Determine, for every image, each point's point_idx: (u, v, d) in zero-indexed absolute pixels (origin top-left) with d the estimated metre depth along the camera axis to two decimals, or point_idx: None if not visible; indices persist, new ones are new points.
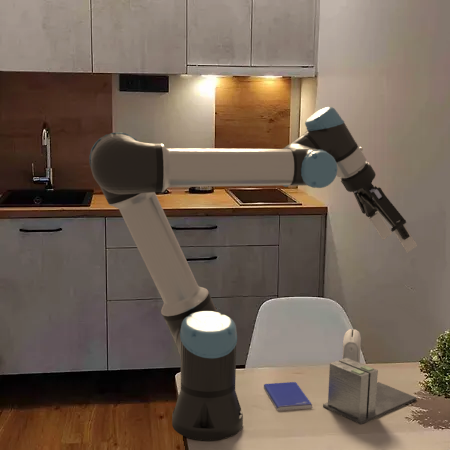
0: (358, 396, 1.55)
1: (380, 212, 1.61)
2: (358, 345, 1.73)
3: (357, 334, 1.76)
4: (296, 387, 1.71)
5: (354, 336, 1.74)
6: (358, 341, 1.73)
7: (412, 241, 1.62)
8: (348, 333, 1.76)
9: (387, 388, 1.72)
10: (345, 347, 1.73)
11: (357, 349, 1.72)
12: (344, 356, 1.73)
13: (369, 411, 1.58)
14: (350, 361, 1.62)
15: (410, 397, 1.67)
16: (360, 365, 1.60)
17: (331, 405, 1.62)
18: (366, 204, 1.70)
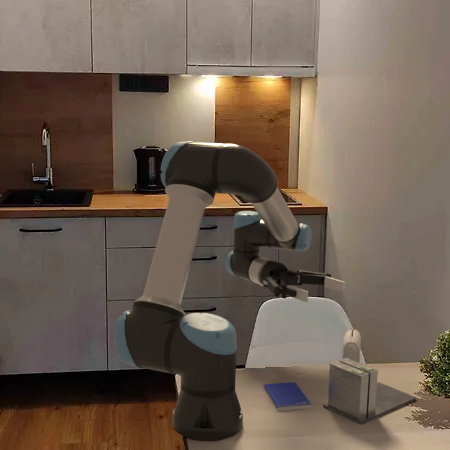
0: (358, 396, 1.55)
1: (308, 274, 1.93)
2: (358, 345, 1.73)
3: (357, 334, 1.76)
4: (296, 387, 1.71)
5: (354, 336, 1.74)
6: (358, 341, 1.73)
7: None
8: (348, 333, 1.76)
9: (387, 388, 1.72)
10: (345, 347, 1.73)
11: (357, 349, 1.72)
12: (344, 356, 1.73)
13: (369, 411, 1.58)
14: (350, 361, 1.62)
15: (410, 397, 1.67)
16: (360, 365, 1.60)
17: (331, 405, 1.62)
18: (285, 280, 1.88)
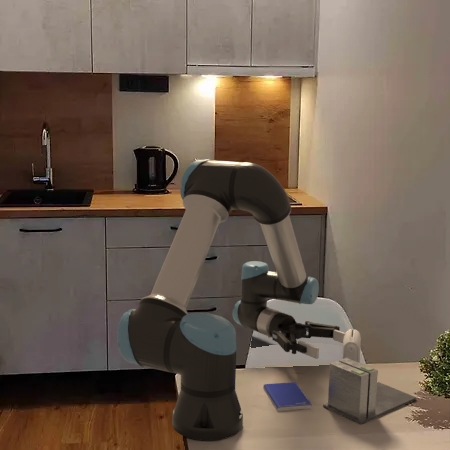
0: (358, 396, 1.55)
1: (317, 327, 1.93)
2: (358, 345, 1.73)
3: (357, 334, 1.76)
4: (296, 387, 1.71)
5: (354, 336, 1.74)
6: (358, 341, 1.73)
7: None
8: (348, 333, 1.76)
9: (387, 388, 1.72)
10: (345, 347, 1.73)
11: (357, 349, 1.72)
12: (344, 356, 1.73)
13: (369, 411, 1.58)
14: (350, 361, 1.62)
15: (410, 397, 1.67)
16: (360, 365, 1.60)
17: (331, 405, 1.62)
18: (294, 334, 1.88)
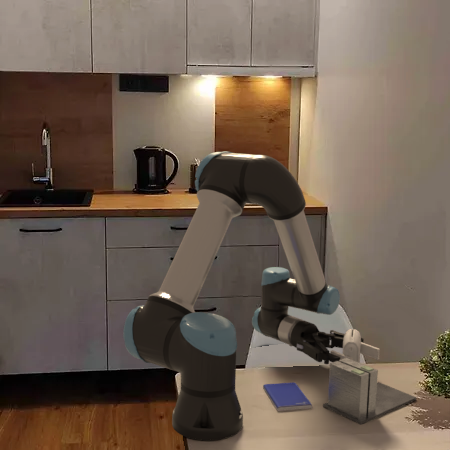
0: (358, 396, 1.55)
1: (341, 337, 1.85)
2: (358, 345, 1.73)
3: (357, 334, 1.76)
4: (296, 387, 1.71)
5: (354, 336, 1.74)
6: (358, 341, 1.73)
7: None
8: (348, 333, 1.76)
9: (387, 388, 1.72)
10: (345, 347, 1.73)
11: (357, 349, 1.72)
12: None
13: (369, 411, 1.58)
14: (350, 361, 1.62)
15: (410, 397, 1.67)
16: (360, 365, 1.60)
17: (331, 405, 1.62)
18: None
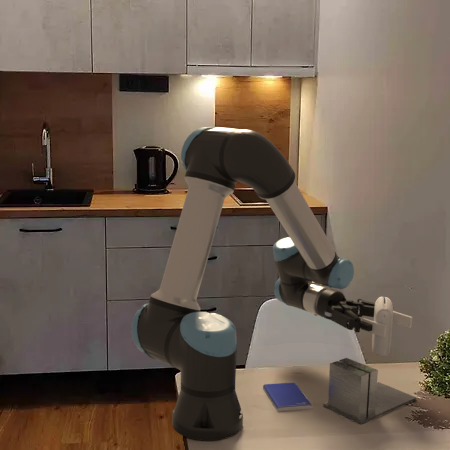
0: (358, 396, 1.55)
1: (370, 306, 1.78)
2: (391, 312, 1.65)
3: (389, 301, 1.69)
4: (295, 387, 1.71)
5: (387, 303, 1.67)
6: (391, 308, 1.66)
7: None
8: (380, 300, 1.69)
9: (387, 388, 1.72)
10: (378, 314, 1.65)
11: (390, 316, 1.65)
12: None
13: (369, 411, 1.58)
14: (350, 361, 1.62)
15: (410, 397, 1.67)
16: (360, 365, 1.60)
17: (331, 405, 1.62)
18: None
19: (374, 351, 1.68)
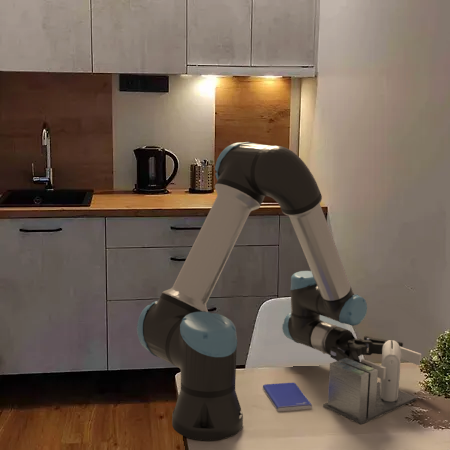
0: (358, 396, 1.55)
1: (378, 343, 1.77)
2: (399, 358, 1.63)
3: (397, 346, 1.67)
4: (295, 387, 1.71)
5: (394, 348, 1.65)
6: (399, 353, 1.64)
7: None
8: (387, 345, 1.67)
9: None
10: (385, 360, 1.64)
11: (398, 362, 1.63)
12: None
13: (369, 411, 1.58)
14: (350, 361, 1.62)
15: (410, 397, 1.67)
16: (360, 365, 1.60)
17: (331, 405, 1.62)
18: (355, 351, 1.72)
19: (382, 397, 1.66)
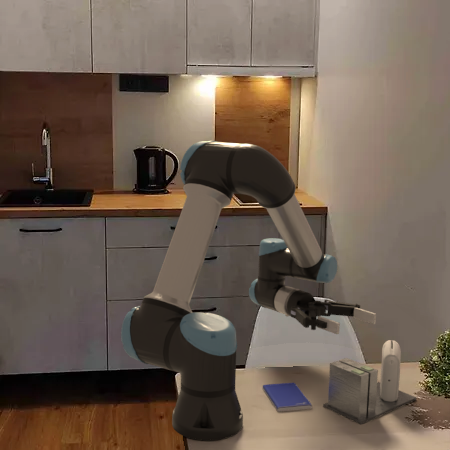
0: (358, 396, 1.55)
1: (337, 305, 1.87)
2: (399, 358, 1.63)
3: (397, 346, 1.67)
4: (295, 388, 1.71)
5: (394, 348, 1.65)
6: (399, 353, 1.64)
7: None
8: (387, 345, 1.67)
9: None
10: (385, 360, 1.64)
11: (398, 362, 1.63)
12: (384, 369, 1.64)
13: (369, 411, 1.58)
14: (350, 361, 1.62)
15: (410, 397, 1.67)
16: (360, 365, 1.60)
17: (331, 405, 1.62)
18: (313, 311, 1.82)
19: (382, 397, 1.66)
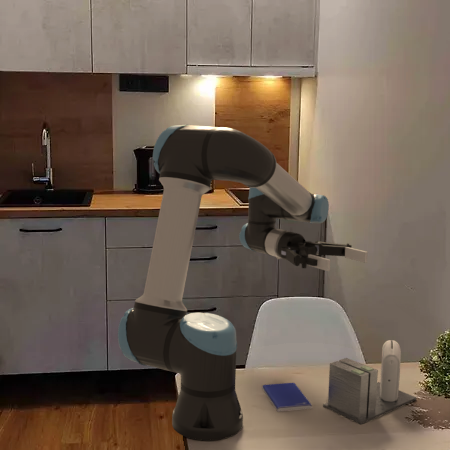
0: (358, 396, 1.55)
1: (328, 245, 1.85)
2: (399, 358, 1.63)
3: (397, 346, 1.67)
4: (295, 388, 1.71)
5: (394, 348, 1.65)
6: (399, 353, 1.64)
7: None
8: (387, 345, 1.67)
9: None
10: (385, 360, 1.64)
11: (398, 362, 1.63)
12: (384, 369, 1.64)
13: (369, 411, 1.58)
14: (350, 361, 1.62)
15: (410, 397, 1.67)
16: (360, 365, 1.60)
17: (331, 405, 1.62)
18: (304, 250, 1.79)
19: (382, 397, 1.66)
